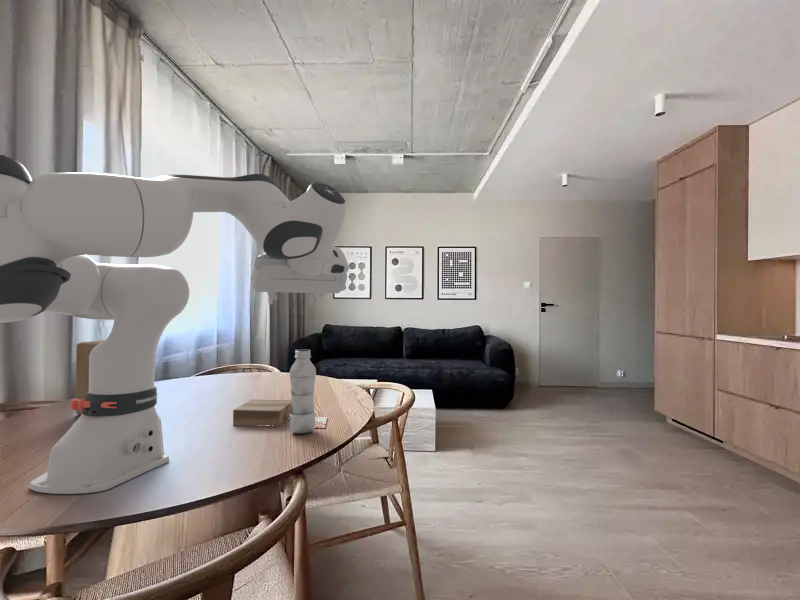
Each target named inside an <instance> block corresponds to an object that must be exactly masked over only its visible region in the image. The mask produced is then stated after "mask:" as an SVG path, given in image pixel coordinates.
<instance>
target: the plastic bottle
mask: <svg viewBox="0 0 800 600" xmlns="http://www.w3.org/2000/svg"><path fill="white" fill-rule="evenodd" d="M294 353H295V355H294V358H295V361H294V362H293V364H292V365H291V367H290V370H289V383H290V390H291V392H290V394H291V396H290V397H291V410H290V416H289V419H288V429H289V431H290V432H291V433H293V434H307V433H311V432H312V431H314V430H315V429H314V427H315V423H316V419H315V417H316V414H315V406H314V397H315V396H314V394H315V383H316V376H317V371H316V370H317V369H316V367H315V366H314V363H312V361H311V358H312V355H311V349H305V348H304V349H295V351H294Z"/></svg>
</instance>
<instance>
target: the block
mask: <svg viewBox="0 0 800 600" xmlns="http://www.w3.org/2000/svg"><path fill="white" fill-rule="evenodd" d="M105 340H106V339H104V340H93V341H92V340H91V341H82V342H79V343H77V344H76V347H75V348H76V350H75V351H76V353H75V357H76V359H75V361H76V362H75V365H76V366H75V399H79V400H82V399H85V396H86V393H87V392H88V391H89V355H90V353H91V351H92V349H93V348H94V347H95V346H96V345H98V344H99V343H101V342H103V341H105ZM75 414H76V415H77V416H81V415H82V413H81V410H75Z"/></svg>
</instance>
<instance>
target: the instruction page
mask: <svg viewBox="0 0 800 600" xmlns="http://www.w3.org/2000/svg"><path fill="white" fill-rule="evenodd" d="M317 417H318V419H317ZM315 419H316V421H318V423H319V422H320V421H321V422H323V424H324V423H325V424H326V425H327V422H326V421H327V420H328V417H327V416H315ZM321 422H320V423H321ZM320 425H321V424H320ZM326 425H325V426H326ZM323 426H324V425H323ZM323 426H322V427H323ZM325 426H324V427H325ZM325 428H326V427H325Z"/></svg>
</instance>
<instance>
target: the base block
mask: <svg viewBox="0 0 800 600" xmlns="http://www.w3.org/2000/svg"><path fill="white" fill-rule="evenodd" d="M290 410H291V400H290V399H287V400H285V399H284V400H283V399H251V400H249V401H246V402H245V403H243V404H242V405H239V406H238V407H236V408H235V409H232V411H233V412H232V413H233V414H232V426H233V425H270V426H272V425H273V426H280V425H281V424H282V423H283V422H285V421H286V420H287V419H288V418H289V416H290ZM288 420H289V419H288ZM288 420H287V421H288ZM287 421H286V422H287ZM286 422H285V423H286ZM283 424H284V423H283ZM283 424H282V425H283ZM282 425H281V426H282ZM281 426H280V427H281Z"/></svg>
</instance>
